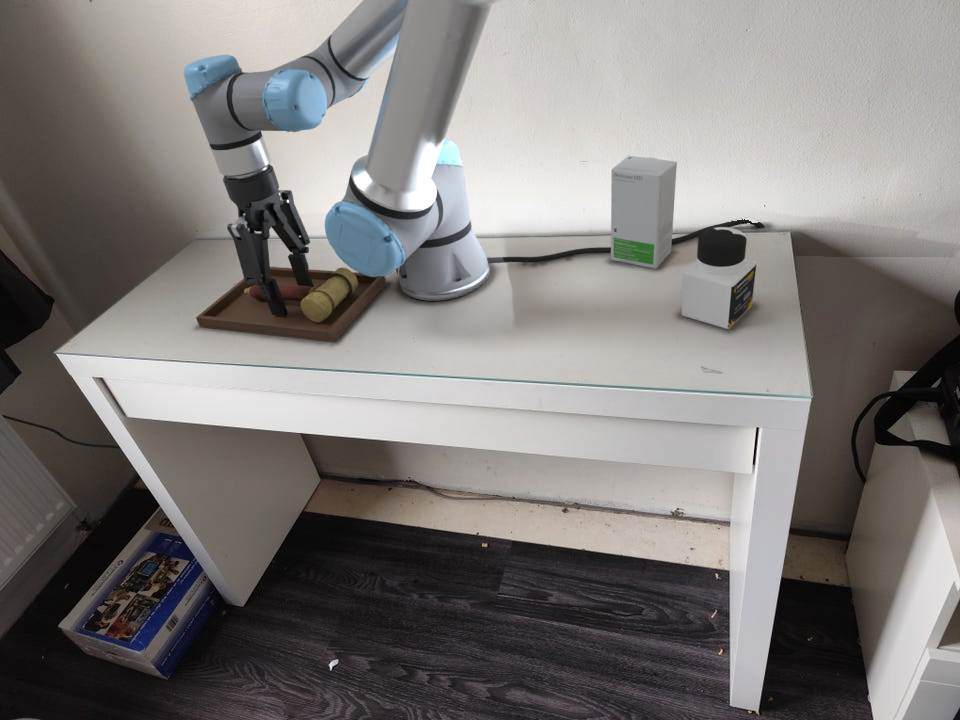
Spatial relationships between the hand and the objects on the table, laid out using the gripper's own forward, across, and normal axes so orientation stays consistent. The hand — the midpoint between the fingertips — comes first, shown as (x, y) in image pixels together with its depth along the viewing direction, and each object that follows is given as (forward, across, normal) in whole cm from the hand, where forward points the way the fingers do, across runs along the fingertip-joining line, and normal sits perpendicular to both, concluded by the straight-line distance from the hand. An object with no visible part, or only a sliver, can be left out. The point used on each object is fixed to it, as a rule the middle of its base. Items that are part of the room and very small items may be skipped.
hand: (293, 301), depth 113 cm
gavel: (0, 0, 0) cm, 0 cm away
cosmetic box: (+1, -23, +54) cm, 59 cm away
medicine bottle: (+1, -8, +67) cm, 67 cm away
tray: (+1, 0, 0) cm, 1 cm away
